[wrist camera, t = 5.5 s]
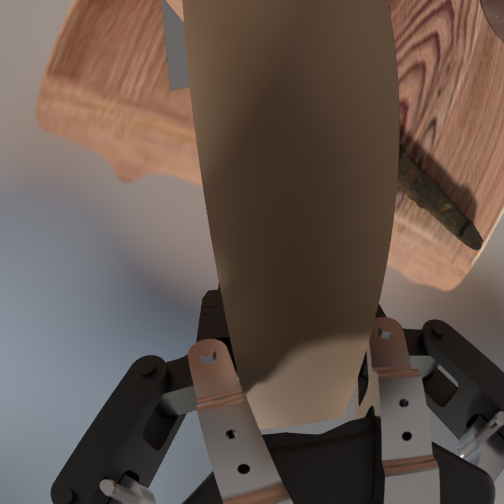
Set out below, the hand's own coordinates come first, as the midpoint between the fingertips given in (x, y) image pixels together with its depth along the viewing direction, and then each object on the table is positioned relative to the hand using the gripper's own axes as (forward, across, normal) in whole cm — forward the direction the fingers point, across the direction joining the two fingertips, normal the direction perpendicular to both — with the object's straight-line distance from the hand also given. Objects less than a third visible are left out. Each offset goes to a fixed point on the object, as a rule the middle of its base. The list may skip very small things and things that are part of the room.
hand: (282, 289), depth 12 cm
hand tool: (+16, -20, +2) cm, 26 cm away
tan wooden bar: (0, 0, -5) cm, 5 cm away
